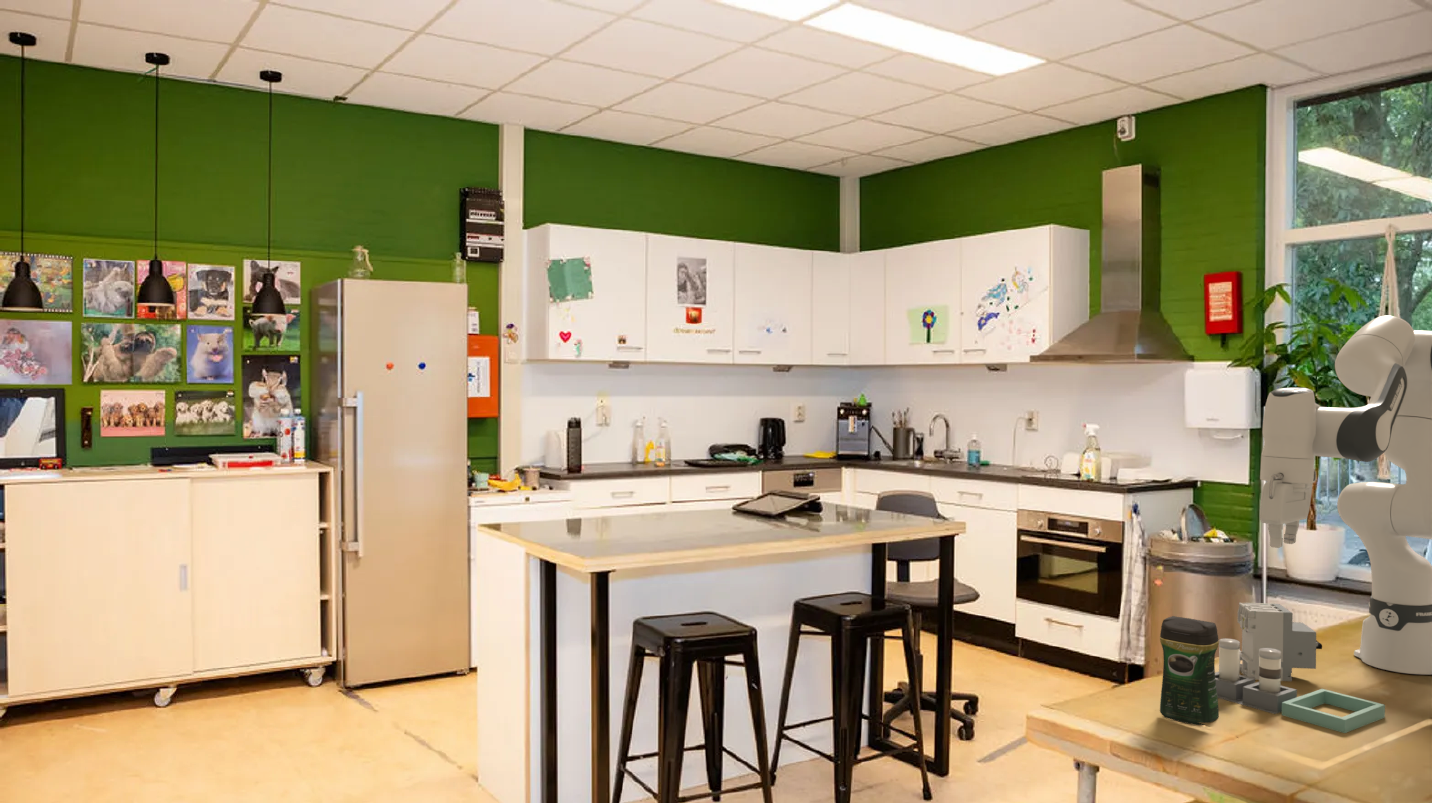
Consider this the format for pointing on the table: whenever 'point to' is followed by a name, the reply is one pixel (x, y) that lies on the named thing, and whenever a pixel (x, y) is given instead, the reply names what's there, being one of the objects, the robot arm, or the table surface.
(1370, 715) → the parts tray
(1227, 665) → the cylinder
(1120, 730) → the table surface
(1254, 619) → the circuit breaker
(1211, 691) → the coffee jar
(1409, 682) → the table surface
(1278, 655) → the cylinder
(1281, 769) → the table surface
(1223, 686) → the block
